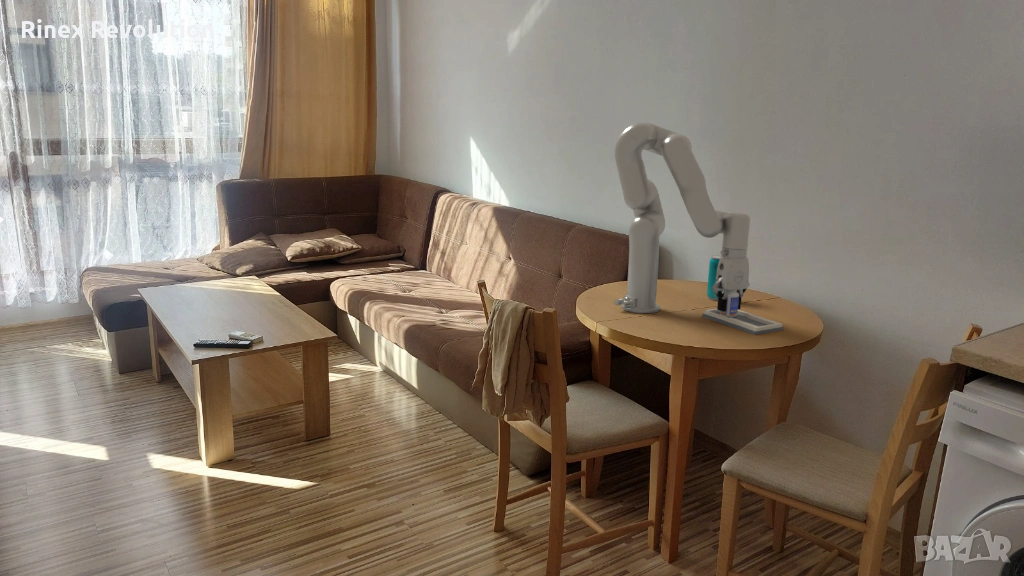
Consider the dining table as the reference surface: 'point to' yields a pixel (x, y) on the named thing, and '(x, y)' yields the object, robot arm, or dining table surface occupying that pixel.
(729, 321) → the grey flat rectangular tray
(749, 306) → the dining table surface
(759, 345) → the dining table surface
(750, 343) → the dining table surface
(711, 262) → the beverage can
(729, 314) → the pill bottle
